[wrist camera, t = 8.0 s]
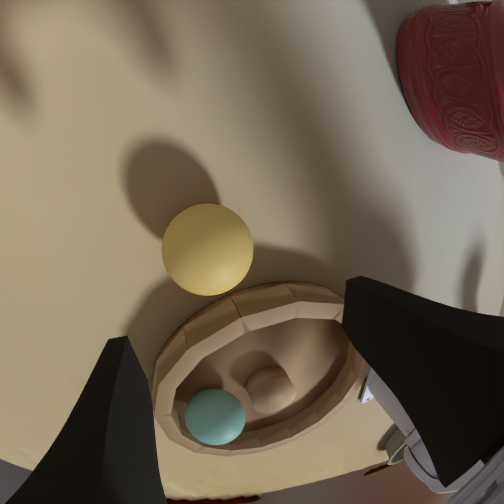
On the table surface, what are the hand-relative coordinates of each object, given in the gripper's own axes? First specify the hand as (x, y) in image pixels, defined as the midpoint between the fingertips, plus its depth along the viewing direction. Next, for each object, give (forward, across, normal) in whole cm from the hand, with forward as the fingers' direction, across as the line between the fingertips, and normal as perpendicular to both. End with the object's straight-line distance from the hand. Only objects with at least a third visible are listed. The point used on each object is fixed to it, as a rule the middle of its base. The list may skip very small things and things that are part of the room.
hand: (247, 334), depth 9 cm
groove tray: (+9, -3, +14) cm, 16 cm away
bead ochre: (+9, 0, 0) cm, 9 cm away
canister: (+9, -21, -10) cm, 25 cm away
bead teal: (+8, +2, +13) cm, 16 cm away
